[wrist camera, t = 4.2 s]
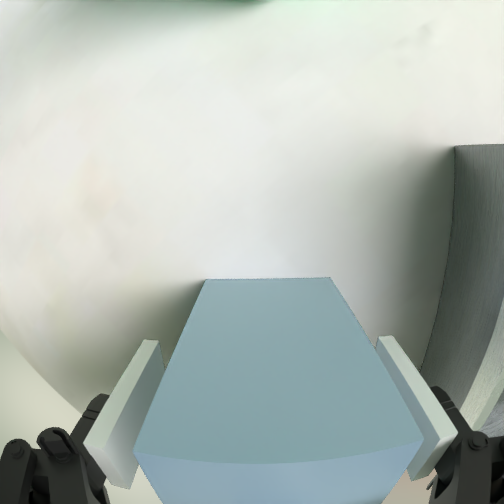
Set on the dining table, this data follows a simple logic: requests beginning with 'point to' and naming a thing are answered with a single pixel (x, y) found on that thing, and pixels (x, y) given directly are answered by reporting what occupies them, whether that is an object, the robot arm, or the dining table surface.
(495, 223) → the open square box
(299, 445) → the blue bottle
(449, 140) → the dining table surface
